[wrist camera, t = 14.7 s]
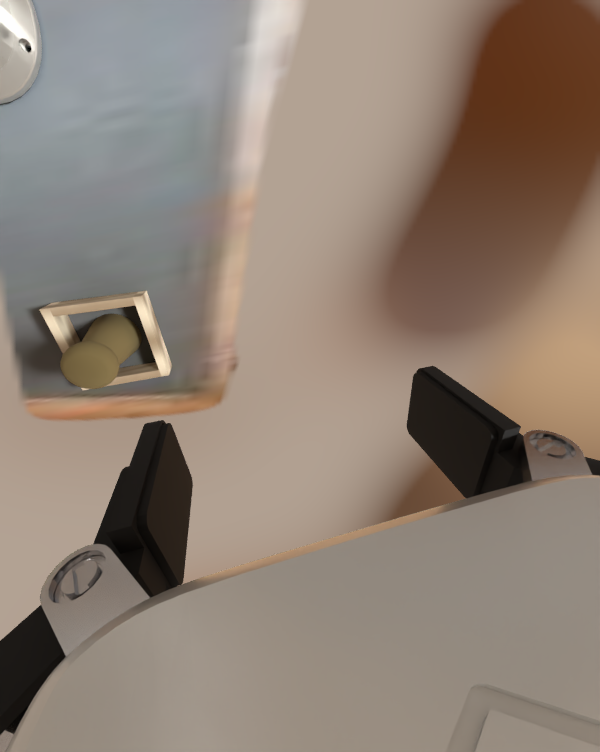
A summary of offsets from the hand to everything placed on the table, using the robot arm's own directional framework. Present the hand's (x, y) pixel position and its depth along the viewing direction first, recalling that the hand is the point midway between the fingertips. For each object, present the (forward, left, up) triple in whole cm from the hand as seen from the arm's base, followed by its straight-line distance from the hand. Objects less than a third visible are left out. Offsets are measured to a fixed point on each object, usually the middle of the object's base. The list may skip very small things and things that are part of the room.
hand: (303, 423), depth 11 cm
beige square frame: (+6, -18, -33) cm, 38 cm away
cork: (+6, -18, -34) cm, 38 cm away
